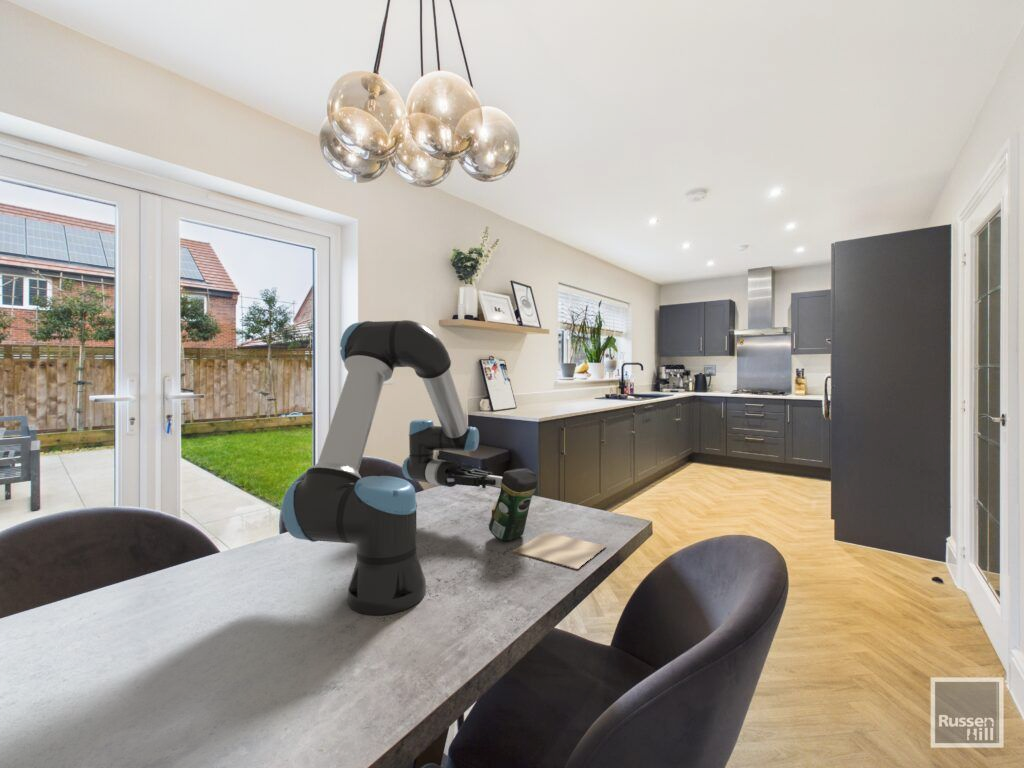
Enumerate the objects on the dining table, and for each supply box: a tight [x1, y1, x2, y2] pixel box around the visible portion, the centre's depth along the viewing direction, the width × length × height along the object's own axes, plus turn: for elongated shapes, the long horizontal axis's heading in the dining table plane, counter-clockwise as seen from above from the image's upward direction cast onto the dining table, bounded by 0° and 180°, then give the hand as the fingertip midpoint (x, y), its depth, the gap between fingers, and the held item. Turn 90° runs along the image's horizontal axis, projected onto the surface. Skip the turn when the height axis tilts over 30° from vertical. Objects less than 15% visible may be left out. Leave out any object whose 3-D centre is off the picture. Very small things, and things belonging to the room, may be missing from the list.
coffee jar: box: [488, 467, 538, 542], centre depth 120 cm, size 10×8×19 cm
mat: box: [512, 531, 607, 569], centre depth 113 cm, size 18×16×1 cm
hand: (506, 483), depth 123 cm, fingers closed
